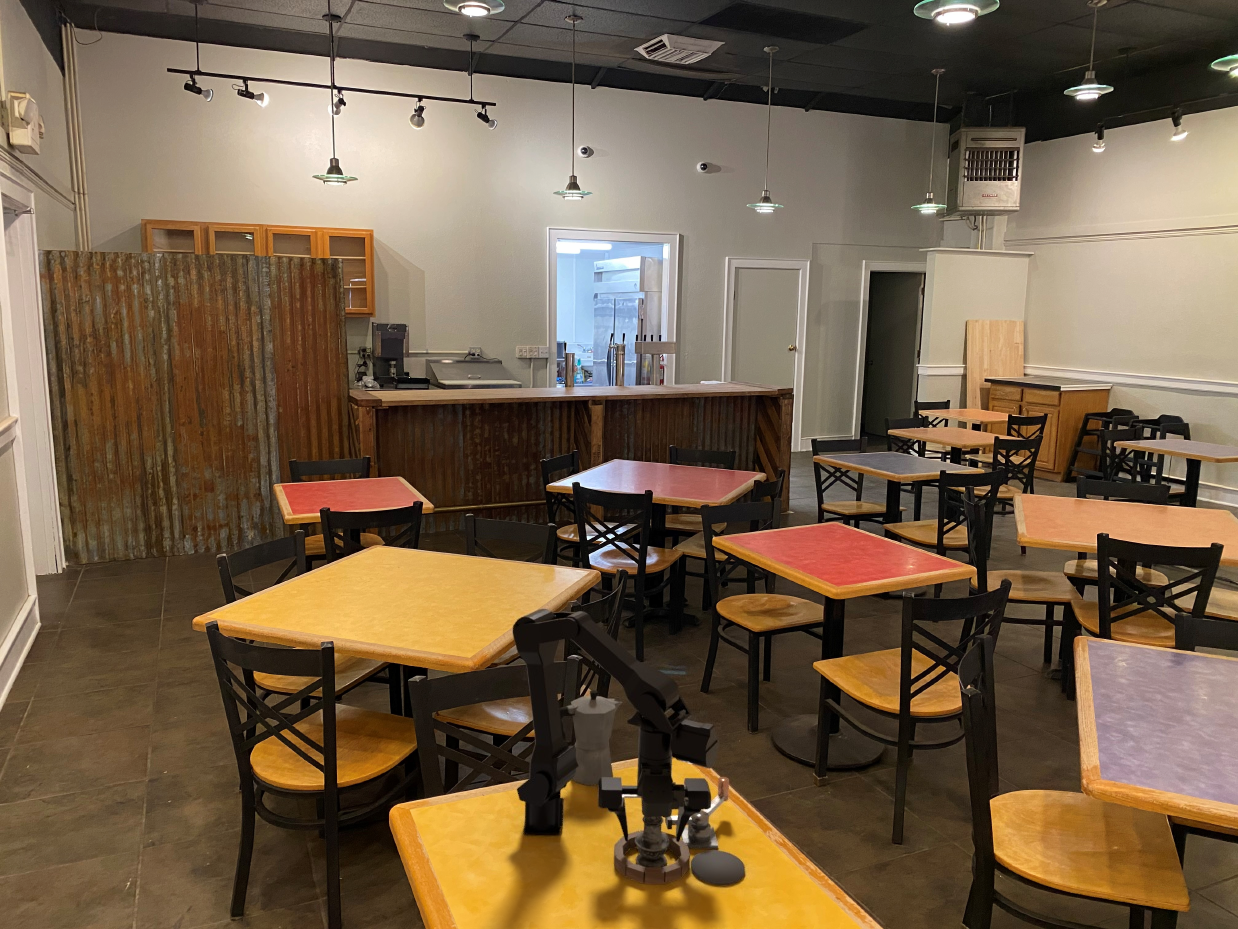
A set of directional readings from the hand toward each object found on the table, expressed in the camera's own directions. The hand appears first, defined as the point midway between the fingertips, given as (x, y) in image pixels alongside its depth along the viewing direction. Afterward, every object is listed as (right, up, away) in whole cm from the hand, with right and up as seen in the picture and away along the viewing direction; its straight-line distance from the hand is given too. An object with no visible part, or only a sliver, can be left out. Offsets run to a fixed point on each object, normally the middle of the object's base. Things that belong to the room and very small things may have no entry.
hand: (652, 840), depth 146 cm
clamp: (+9, 0, +11) cm, 14 cm away
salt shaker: (0, -4, 0) cm, 4 cm away
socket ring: (0, -4, 0) cm, 4 cm away
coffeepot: (-12, 0, +30) cm, 32 cm away
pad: (+11, -4, -1) cm, 12 cm away
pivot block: (+9, -3, +8) cm, 12 cm away
